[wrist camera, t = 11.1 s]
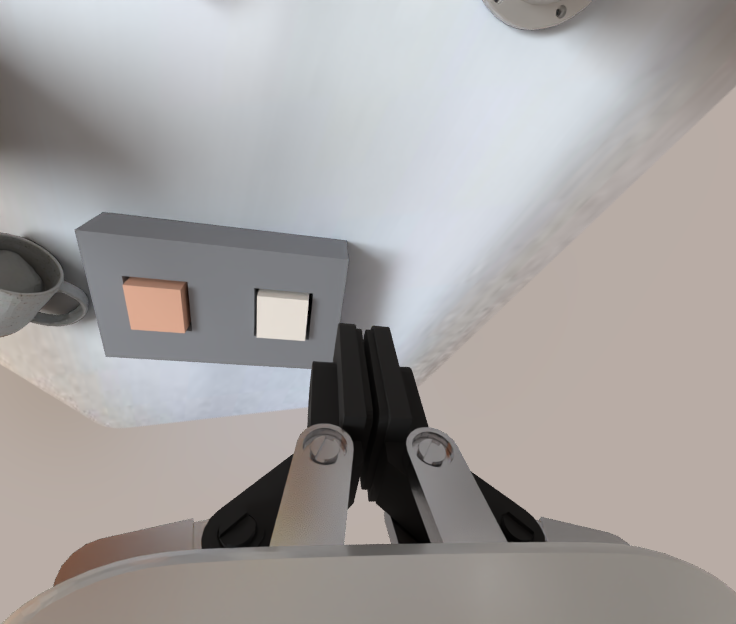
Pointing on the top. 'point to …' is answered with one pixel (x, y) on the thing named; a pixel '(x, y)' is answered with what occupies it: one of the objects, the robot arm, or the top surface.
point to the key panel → (213, 288)
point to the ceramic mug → (32, 286)
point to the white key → (282, 314)
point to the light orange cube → (157, 304)
